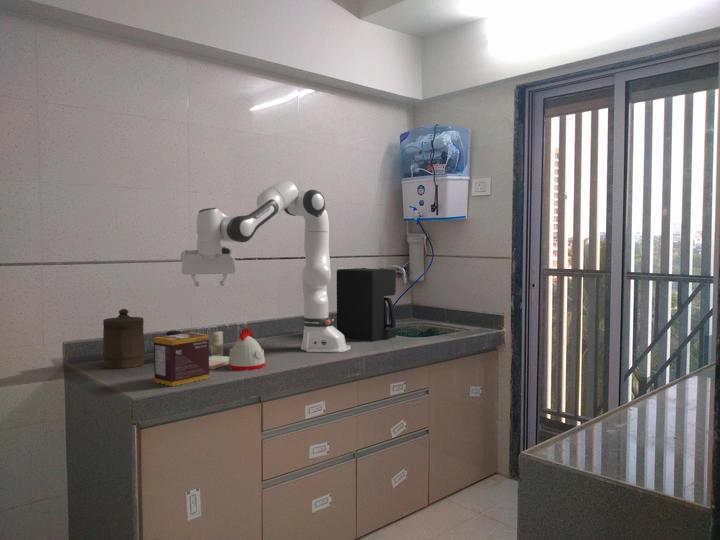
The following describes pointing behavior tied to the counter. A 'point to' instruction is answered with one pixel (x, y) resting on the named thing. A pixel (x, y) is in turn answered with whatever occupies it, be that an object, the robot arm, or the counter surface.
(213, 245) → the robot arm
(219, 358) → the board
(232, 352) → the kitchen timer
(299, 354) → the counter surface
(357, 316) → the coffee maker
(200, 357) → the supplement box
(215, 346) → the beige cylinder
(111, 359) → the wooden container
